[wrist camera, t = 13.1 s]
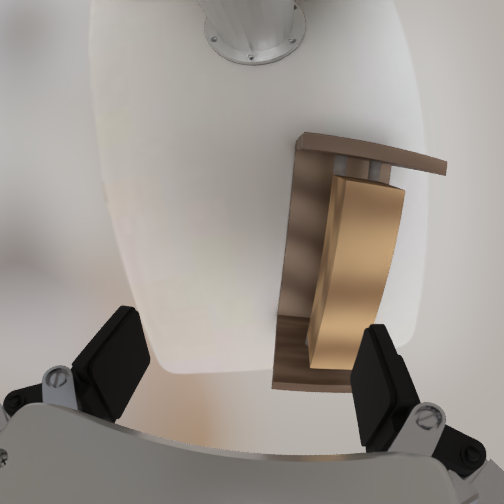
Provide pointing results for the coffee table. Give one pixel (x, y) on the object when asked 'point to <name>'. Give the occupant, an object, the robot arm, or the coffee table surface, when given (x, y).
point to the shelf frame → (312, 241)
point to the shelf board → (352, 268)
